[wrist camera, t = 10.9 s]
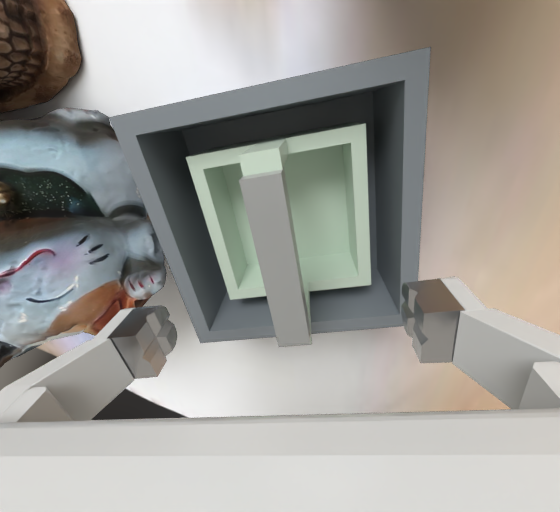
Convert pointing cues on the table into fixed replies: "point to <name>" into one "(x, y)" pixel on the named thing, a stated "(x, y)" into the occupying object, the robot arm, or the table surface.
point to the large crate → (275, 122)
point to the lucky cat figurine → (69, 230)
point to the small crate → (288, 218)
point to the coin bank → (35, 51)
